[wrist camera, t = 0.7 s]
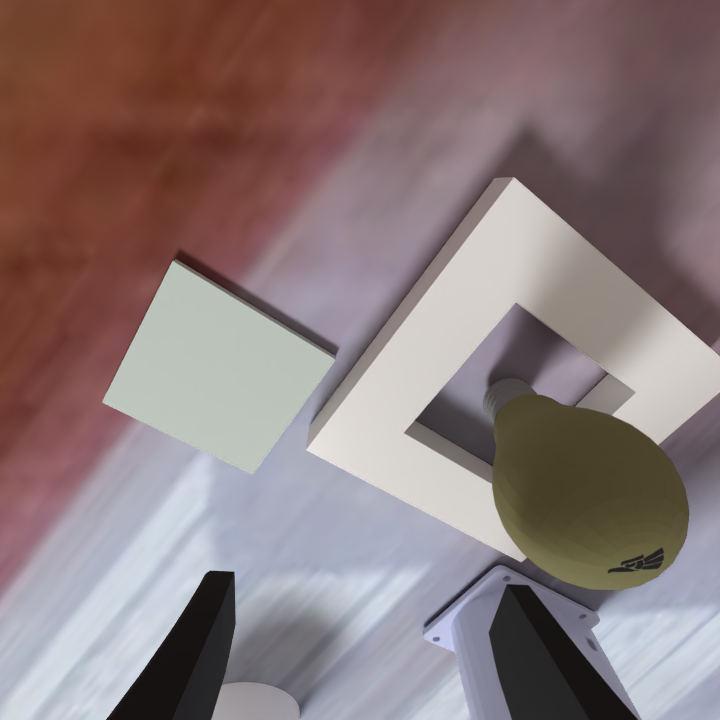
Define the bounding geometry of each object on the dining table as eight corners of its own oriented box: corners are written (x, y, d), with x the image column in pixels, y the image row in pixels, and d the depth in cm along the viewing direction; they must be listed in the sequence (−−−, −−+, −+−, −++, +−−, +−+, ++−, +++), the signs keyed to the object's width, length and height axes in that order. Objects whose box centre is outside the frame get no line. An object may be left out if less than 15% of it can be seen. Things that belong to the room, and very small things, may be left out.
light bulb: (525, 316, 18) (709, 450, 9) (576, 399, 20) (770, 577, 11) (425, 384, 19) (498, 560, 10) (482, 455, 21) (586, 657, 12)
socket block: (702, 356, 19) (740, 374, 18) (507, 533, 24) (521, 562, 22) (494, 178, 16) (514, 177, 14) (309, 426, 20) (306, 450, 18)
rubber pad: (335, 356, 19) (335, 359, 18) (254, 470, 21) (252, 475, 21) (176, 259, 17) (172, 260, 16) (106, 398, 19) (102, 402, 19)
